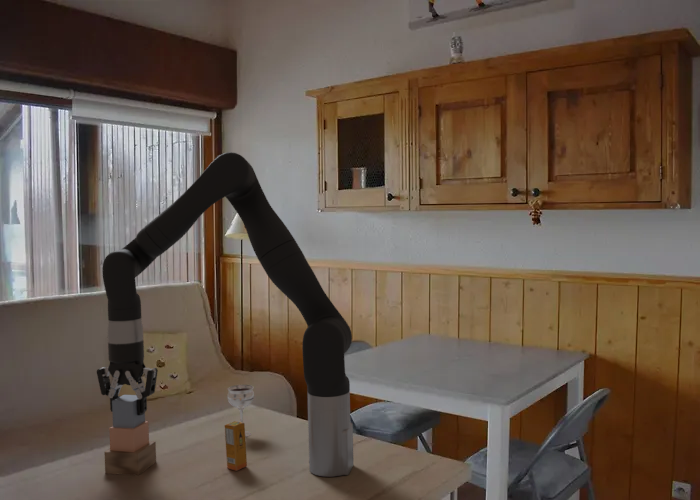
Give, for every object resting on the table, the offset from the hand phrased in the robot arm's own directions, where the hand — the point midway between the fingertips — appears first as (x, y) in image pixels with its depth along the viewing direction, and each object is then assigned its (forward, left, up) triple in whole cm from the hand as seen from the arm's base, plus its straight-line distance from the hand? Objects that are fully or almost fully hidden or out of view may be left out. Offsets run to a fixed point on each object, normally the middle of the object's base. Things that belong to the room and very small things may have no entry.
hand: (128, 413), depth 147 cm
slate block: (0, 0, -2) cm, 2 cm away
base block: (0, 0, -12) cm, 12 cm away
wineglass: (-17, -25, -12) cm, 33 cm away
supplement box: (-24, -3, -12) cm, 27 cm away
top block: (0, 0, -7) cm, 7 cm away
